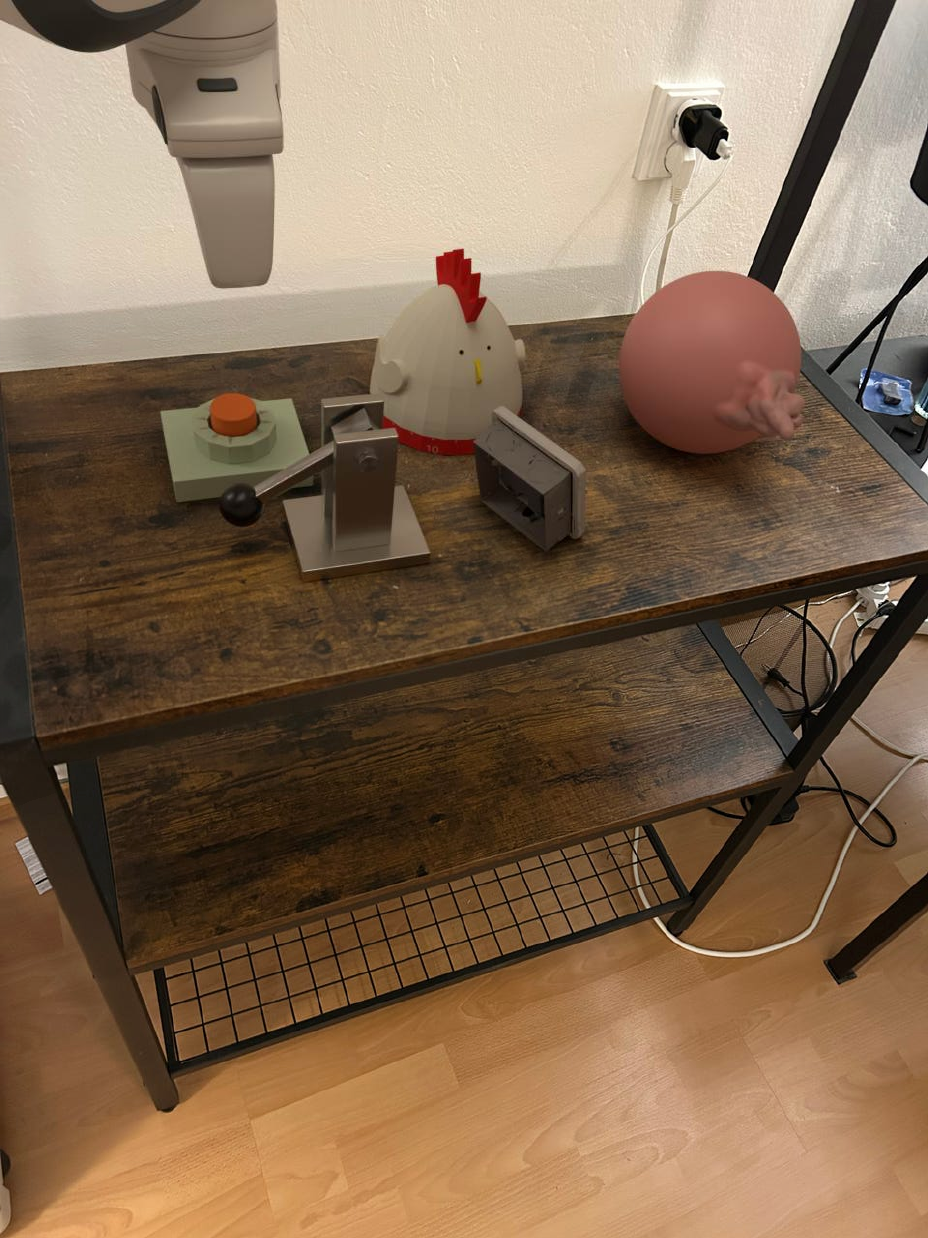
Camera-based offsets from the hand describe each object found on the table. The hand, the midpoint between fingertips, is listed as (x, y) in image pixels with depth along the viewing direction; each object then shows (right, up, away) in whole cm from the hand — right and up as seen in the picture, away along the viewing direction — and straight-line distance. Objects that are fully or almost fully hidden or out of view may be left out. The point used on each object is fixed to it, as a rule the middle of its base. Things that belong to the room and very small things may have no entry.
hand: (224, 275), depth 68 cm
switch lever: (+5, -14, +3) cm, 16 cm away
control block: (-2, -11, +13) cm, 17 cm away
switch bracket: (+8, -18, +9) cm, 21 cm away
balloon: (+38, -9, +21) cm, 44 cm away
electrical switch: (+22, -16, +12) cm, 30 cm away
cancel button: (-2, -8, +10) cm, 13 cm away
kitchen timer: (+15, -5, +21) cm, 26 cm away
